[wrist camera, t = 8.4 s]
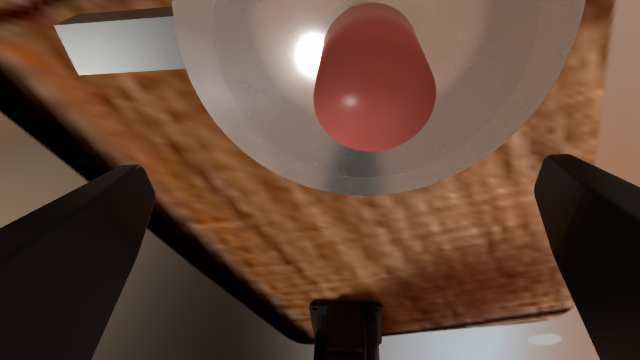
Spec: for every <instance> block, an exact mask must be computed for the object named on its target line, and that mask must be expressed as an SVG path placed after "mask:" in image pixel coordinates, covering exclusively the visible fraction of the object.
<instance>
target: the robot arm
mask: <svg viewBox="0 0 640 360" xmlns="http://www.w3.org/2000/svg"><path fill="white" fill-rule="evenodd" d="M534 194H535V198H536V202H537V205H538V208H539V211H540V214H541V218H542V221H543V224H544V227H545V231H546V234H547V237H548V240H549V244H550V247H551V250H552V253H553V255H554V258H555V260H556V263H557V265H558V267H559V270H560V272H561V274H562V276H563V278H564V281H565V283H566V285H567V287H568V290H569V292H570V294H571V296H572V298H573V301H574V303H575V305H576V307H577V309H578V312H579V314H580V316H581V318H582V320H583V323H584V325H585V327H586V329H587V331H588V334H589V336H590V338H591V340H592V343H593V345H594V347H595V349H596V352H597V354H598V356H599V358H600V360H640V187H638V186H636V185H634V184H632V183H629V182H627V181H625V180H623V179H621V178H619V177H617V176H615V175H613V174H610V173H608V172H606V171H604V170H602V169H600V168H598V167H596V166H594V165H591V164H589V163H587V162H585V161H583V160H581V159H579V158H577V157H575V156H572V155H570V154H551V155H548V156H546V158H545V159H544V161H543V163H542V166H541V169H540V172H539V175H538V178H537V180H536V183H535V188H534ZM154 203H155V192H154V189H153V187H152V185H151V183H150V180H149V178H148V176H147V174H146V172H145V170H144V168H143V167H142V166H140V165H122V166H120V167H118V168H116V169H114V170H112V171H110V172H108V173H106V174H104V175H102V176H100V177H98V178H96V179H95V180H93V181H91V182H89V183H87V184H85V185H83V186H81V187H79V188H77V189H75V190H73V191H71V192H69V193H68V194H66V195H64V196H62V197H60V198H58V199H56V200H54V201H52V202H50V203H48V204H46V205H44V206H42V207H41V208H38V209H37V210H35V211H33V212H31V213H29V214H27V215H25V216H23V217H21V218H19V219H17V220H15V221H13V222H11V223H10V224H7V225H5V226H4V227H2V228H0V360H91V359H92V357H93V355H94V352H95V350H96V348H97V346H98V344H99V341H100V339H101V336H102V335H103V332H104V330H105V328H106V326H107V323H108V321H109V319H110V317H111V314H112V312H113V310H114V307H115V305H116V303H117V301H118V299H119V296H120V294H121V292H122V290H123V287H124V285H125V283H126V280H127V278H128V276H129V274H130V271H131V269H132V267H133V265H134V262H135V260H136V258H137V255H138V252H139V249H140V247H141V243H142V240H143V237H144V234H145V231H146V228H147V225H148V222H149V218H150V215H151V212H152V209H153V206H154ZM309 310H310V316H311V321H312V327H313V332H314V337H315V347H314V358H313V360H379V344H381V342H382V305H381V304H380V303H361V302H312V303H310V307H309Z"/></svg>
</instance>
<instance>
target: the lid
mask: <svg viewBox="0 0 640 360" xmlns="http://www.w3.org/2000/svg"><path fill="white" fill-rule="evenodd" d="M585 2H586V0H172V9H173V17H174V25H175V32H176V37H177V41H178V45H179V49H180V53H181V57H182V60H183V63H184V65H185V68H186V70H187V73H188V76H189V78H190V81H191V83H192V85H193V87H194V89H195V91H196V93H197V94H198V96H199V98H200V100H201V102H202V104H203V105H204V107H205V108H206V110H207V111H208V113H209V114H210V115H211V117H212V118H213V120H214V121H215V122H216V124H217V125H218V126H219V127H220V128H221V129H222V131H223V132H224V133H225V134H226V135H227V137H228V138H229V139H231V140H232V141H233V142H234V143H235V144H236V145H237V146H238V147H239V148H240V149H241V150H242V151H243V152H245V153H246V154H247V155H249V156H250V157H251V158H253V159H254V160H255V161H257V162H258V163H259V164H261V165H262V166H264V167H266V168H267V169H269V170H271V171H272V172H274V173H276V174H278V175H280V176H282V177H284V178H286V179H289V180H291V181H293V182H295V183H298V184H301V185H304V186H307V187H310V188H313V189H317V190H322V191H326V192H330V193H337V194H345V195H361V196H373V195H387V194H394V193H400V192H406V191H411V190H414V189H418V188H422V187H425V186H429V185H432V184H434V183H437V182H439V181H442V180H445V179H447V178H450V177H452V176H454V175H456V174H458V173H460V172H462V171H464V170H466V169H468V168H469V167H471V166H472V165H474V164H476V163H477V162H479V161H480V160H482V159H484V158H485V157H487V156H488V155H489V154H491V153H492V152H493V151H495V150H496V149H497V148H498V147H500V146H501V145H502V144H504V143H505V142H506V141H507V140H508V139H509V138H510V137H511V136H512V135H513V134H514V133H515V132H517V131H518V130H519V129H520V128H521V127H522V126H523V125H524V123H525V122H526V121H527V120H528V119H529V118H530V116H531V115H532V114H533V113H534V112H535V111H536V109H537V108H538V107H539V106H540V104H541V103H542V101H543V100H544V99H545V97H546V96H547V94H548V93H549V91H550V90H551V88H552V87H553V85H554V84H555V82H556V80H557V78H558V76H559V74H560V73H561V71H562V69H563V67H564V65H565V63H566V61H567V59H568V57H569V54H570V52H571V49H572V46H573V44H574V41H575V39H576V36H577V34H578V30H579V26H580V22H581V19H582V15H583V11H584V7H585Z"/></svg>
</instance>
